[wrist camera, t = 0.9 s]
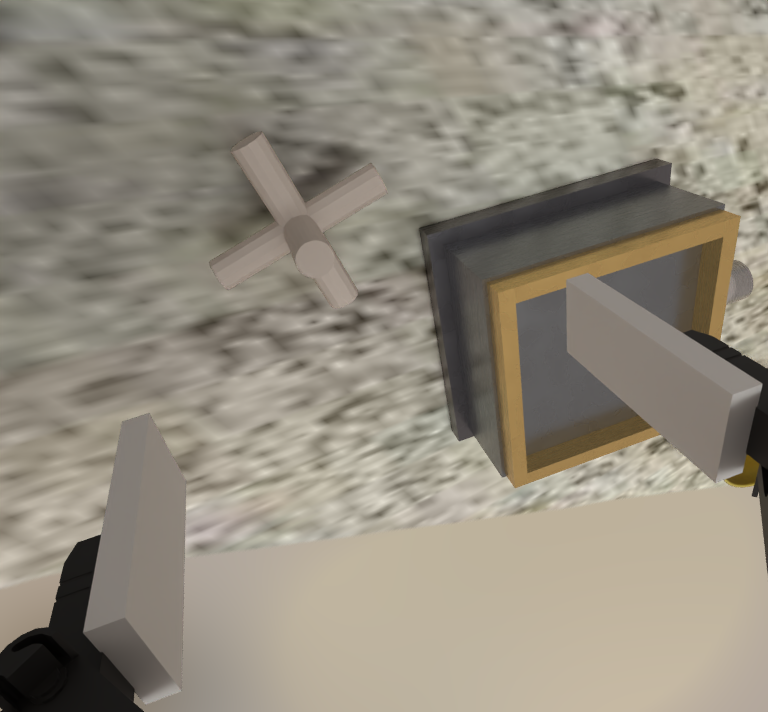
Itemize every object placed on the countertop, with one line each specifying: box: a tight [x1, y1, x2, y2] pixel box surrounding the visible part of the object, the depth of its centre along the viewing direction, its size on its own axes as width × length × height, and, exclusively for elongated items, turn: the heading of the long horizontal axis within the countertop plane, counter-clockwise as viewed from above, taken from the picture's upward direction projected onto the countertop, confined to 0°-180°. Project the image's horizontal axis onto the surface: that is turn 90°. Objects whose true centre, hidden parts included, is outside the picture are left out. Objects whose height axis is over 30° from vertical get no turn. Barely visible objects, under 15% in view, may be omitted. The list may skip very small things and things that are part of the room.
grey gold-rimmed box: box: [420, 159, 753, 488], centre depth 40 cm, size 18×22×9 cm
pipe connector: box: [209, 131, 388, 309], centre depth 30 cm, size 10×10×10 cm
